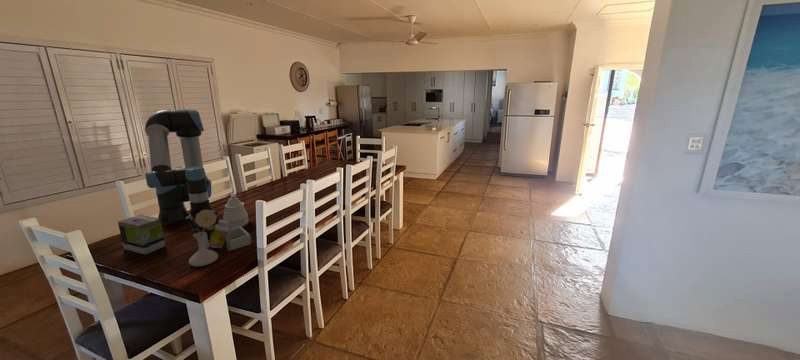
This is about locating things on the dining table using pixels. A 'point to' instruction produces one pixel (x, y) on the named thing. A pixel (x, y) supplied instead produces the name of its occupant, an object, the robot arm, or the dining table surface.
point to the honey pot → (235, 213)
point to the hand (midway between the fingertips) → (206, 246)
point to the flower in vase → (203, 254)
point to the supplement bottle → (219, 234)
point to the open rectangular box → (237, 242)
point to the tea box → (141, 234)
